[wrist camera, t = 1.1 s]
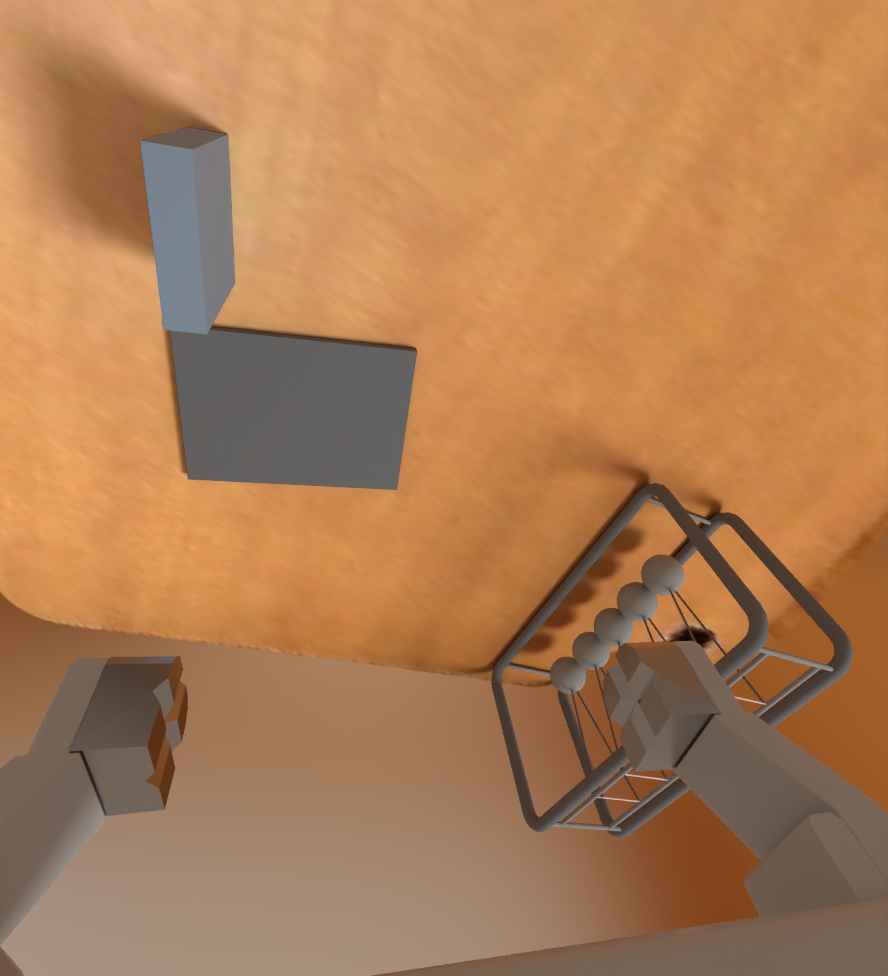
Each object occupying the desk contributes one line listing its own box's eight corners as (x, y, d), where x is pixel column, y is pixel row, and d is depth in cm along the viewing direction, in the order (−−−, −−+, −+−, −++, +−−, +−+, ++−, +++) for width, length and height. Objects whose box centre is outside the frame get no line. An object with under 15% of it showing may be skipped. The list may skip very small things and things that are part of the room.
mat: (171, 322, 35) (169, 325, 35) (416, 348, 39) (417, 351, 38) (189, 474, 42) (187, 479, 42) (396, 485, 46) (396, 489, 45)
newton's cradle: (558, 686, 67) (616, 847, 53) (486, 671, 63) (527, 841, 49) (730, 504, 53) (872, 658, 39) (650, 471, 49) (775, 629, 35)
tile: (200, 278, 34) (162, 329, 27) (187, 126, 30) (138, 140, 22) (235, 282, 35) (207, 334, 27) (228, 134, 30) (192, 149, 23)
